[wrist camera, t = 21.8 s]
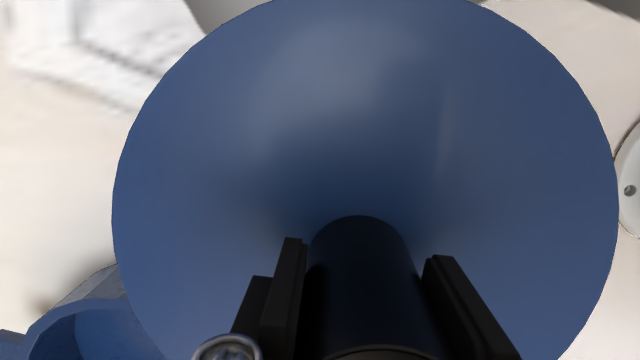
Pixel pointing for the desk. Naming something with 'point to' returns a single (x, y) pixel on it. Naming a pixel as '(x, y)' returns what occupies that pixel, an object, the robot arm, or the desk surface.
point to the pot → (85, 327)
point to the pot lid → (366, 179)
